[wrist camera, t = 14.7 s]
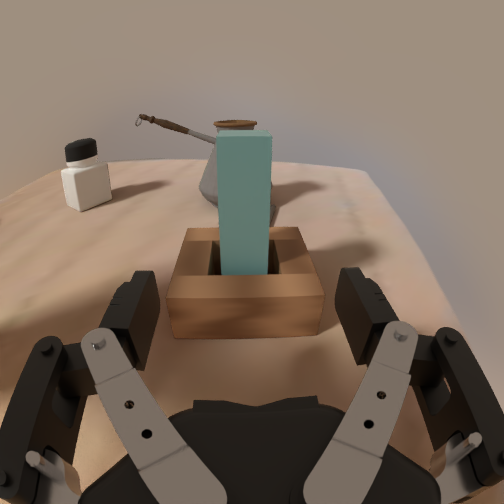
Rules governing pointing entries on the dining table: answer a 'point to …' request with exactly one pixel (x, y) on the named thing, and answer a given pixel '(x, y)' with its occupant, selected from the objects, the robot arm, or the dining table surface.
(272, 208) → the dark grey rod
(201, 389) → the dining table surface
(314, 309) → the brown square slotted piece
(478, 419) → the robot arm
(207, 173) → the coffee pot
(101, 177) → the medicine bottle
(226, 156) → the peg
